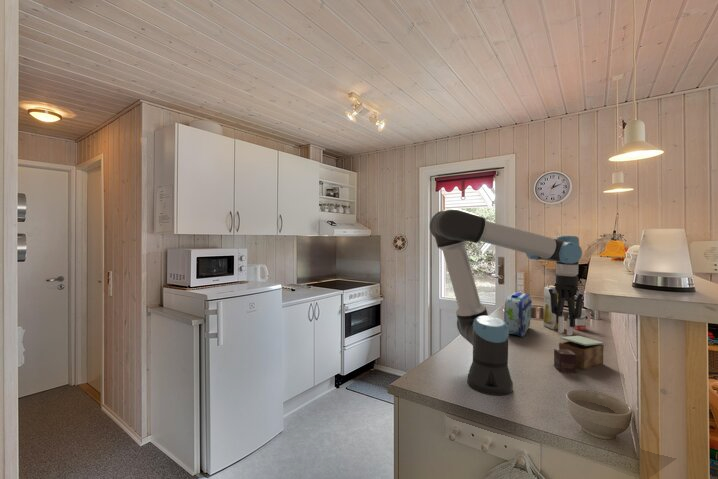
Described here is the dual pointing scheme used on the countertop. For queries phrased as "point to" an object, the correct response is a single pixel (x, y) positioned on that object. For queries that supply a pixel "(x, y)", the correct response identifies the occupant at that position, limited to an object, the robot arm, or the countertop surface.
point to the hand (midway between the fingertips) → (565, 333)
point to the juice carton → (549, 310)
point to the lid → (582, 340)
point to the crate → (585, 354)
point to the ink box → (581, 321)
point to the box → (565, 360)
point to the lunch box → (518, 313)
